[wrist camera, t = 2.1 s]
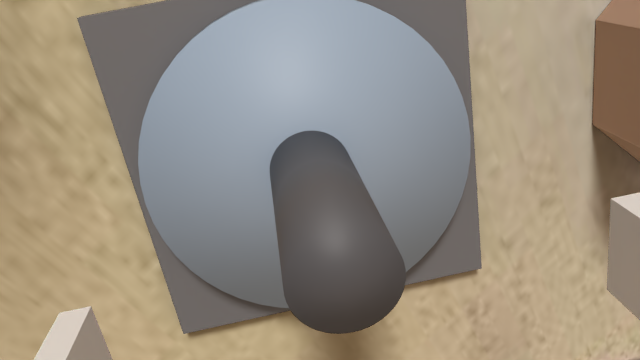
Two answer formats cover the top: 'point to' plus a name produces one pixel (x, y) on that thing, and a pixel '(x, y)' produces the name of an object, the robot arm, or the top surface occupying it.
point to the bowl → (618, 74)
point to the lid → (305, 157)
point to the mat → (157, 54)
